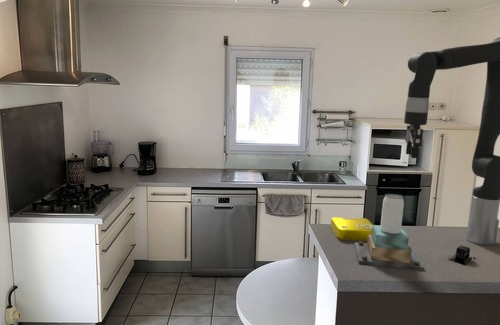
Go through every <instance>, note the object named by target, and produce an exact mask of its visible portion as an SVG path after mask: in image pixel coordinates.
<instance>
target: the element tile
mask: <svg viewBox="0 0 500 325" xmlns="http://www.w3.org/2000/svg"><path fill="white" fill-rule="evenodd" d="M372 225H374V224H373V223H372V222H371V221H370V220H369V219H367V218H364V217H363V218H362V217H361V218H360V217H335V216H334V217H331V219H330V229H331V231H332V232H333V234H334V233H335V234H334V235H335V237H336V236H337V237H338V238H340V239H339V240H341V239H344V240H343V241H361V242H364V241H365V242H366V241H367V239H368V235H371V234H372ZM337 237H336V238H337ZM338 238H337V239H338Z"/></svg>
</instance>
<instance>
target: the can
mask: <svg viewBox="0 0 500 325" xmlns="http://www.w3.org/2000/svg"><path fill="white" fill-rule="evenodd" d="M404 206H405V201H404V196H402V195H401V194H395V193H386V194H384V198H383V200H382V208H381V217H380V218H381V219H380V226H381V227H380V229H381V231H382V232H384V233H388V234H399V233H400V232H401V228H402V224H403V217H404V209H405V208H404Z"/></svg>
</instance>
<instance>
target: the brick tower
mask: <svg viewBox="0 0 500 325" xmlns="http://www.w3.org/2000/svg"><path fill="white" fill-rule="evenodd" d="M380 227H381V225H379V224H378V225H376V224H373V225H372V234H371V235H368V239H367V242H365V243H364V241H358V242H354V244H353V245H354V249H356V250H355V253H356V258H357V263H358V264H361V265H370V266H379V267H380V266H381V267H389V268H398V269H406V270H407V269H409V270H417V271H418V270H419V271H425V266H424V264H423V262H422V261H421V259H420V258H419V255H418V253H417V252H416V250H415V249H414V247H411V246H409V239H410V238H409V236H408V235H407V232H406V231H405V230H404V228H403V227H401V232H400V233H399V234H388V233H384V232H382V231H381V229H380Z"/></svg>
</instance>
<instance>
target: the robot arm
mask: <svg viewBox="0 0 500 325" xmlns="http://www.w3.org/2000/svg"><path fill="white" fill-rule="evenodd" d="M407 61H408V62H407V68H408V70H409V71H410V72H412V73H414V78H413V80H412V81H410V82H409V85H408V91H407V98H406V104H405V110H404V112H405V113H404V122H403V123H404V124H406V125H407V126H406V132H405V133H406V134H405V143H406V149H405V154H406V155H410V157H411V158H412V159H418V157H419V153H420V152H419V151H420V147H422V145H423V144H422V143H423V142H422V141H423V134H424V133H423V132H424V129H423V128H421V127H422V126H426V125H428V116H429V109H430V95H431V94H430V93H431V85H432V83H433V80H434V77H435V74H436V72H437V71H439V70H440V71H441V70H443V71H445V70H452V69H457V68H463V67H467V66H472V65H473V66H474V65H477V64H484V63H486V64H487V65H486V67H487V68H486V82H485V89H484V96H483V97H484V98H483V102H482V110H481V117H480V124H479V130H478V137H477V142H476V145H475V150H474V152H473V157H472V160H471V171H472V173H473V174H474V175H475V176H476V177H479V178H482V179H483V183H482V185H481V186H475V187H474V188H473V189H472V194H471V202H470V208H469V215H468V221H467V229H466V235H465V239H466V240H467V241H469V242H471V243H475V244H478V243H479V245H483V244H487V245H486V246H491V245H496V243H497V237H498V231H499V224H500V219H499V218H498V217H499V211H500V155H495V147H496V142H497V140H498V138H499V136H500V36H499V37H496V38H495V39H493V40H492V41H491V42H489V43H483V44H475V45H474V44H473V45H463V46H455V47H448V48H443V49H440V50H439V49H438V50H435V51H434V50H433V51H423V52H417V53H415V54H413V55H411V56H410V57H409V59H408V60H407ZM490 244H491V245H490Z"/></svg>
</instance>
